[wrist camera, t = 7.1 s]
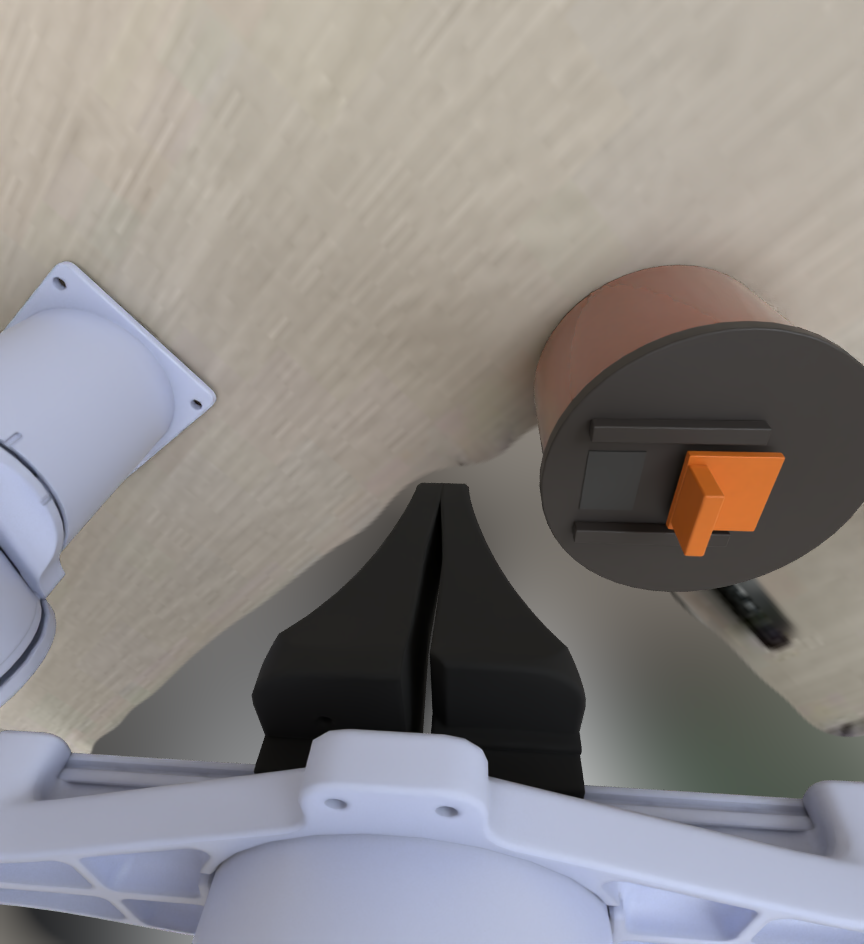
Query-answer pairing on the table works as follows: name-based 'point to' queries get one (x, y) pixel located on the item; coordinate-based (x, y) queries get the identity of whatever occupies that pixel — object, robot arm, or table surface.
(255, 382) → the table surface
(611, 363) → the lidded cup
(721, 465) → the slider
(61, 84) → the table surface
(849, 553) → the table surface
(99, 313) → the robot arm
